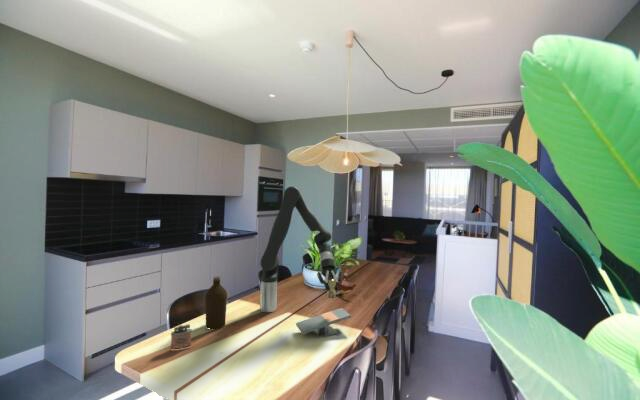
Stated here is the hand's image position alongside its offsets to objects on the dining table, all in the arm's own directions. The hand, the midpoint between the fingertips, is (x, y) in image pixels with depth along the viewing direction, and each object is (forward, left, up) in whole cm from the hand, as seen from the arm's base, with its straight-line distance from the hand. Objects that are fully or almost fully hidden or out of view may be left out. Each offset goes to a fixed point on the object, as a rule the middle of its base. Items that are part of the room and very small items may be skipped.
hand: (332, 290), depth 146 cm
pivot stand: (-5, -1, -20) cm, 21 cm away
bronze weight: (0, +2, -4) cm, 5 cm away
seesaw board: (-5, -1, -15) cm, 16 cm away
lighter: (-70, +5, -20) cm, 73 cm away
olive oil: (-55, +23, -20) cm, 63 cm away
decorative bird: (+30, +47, -20) cm, 59 cm away
